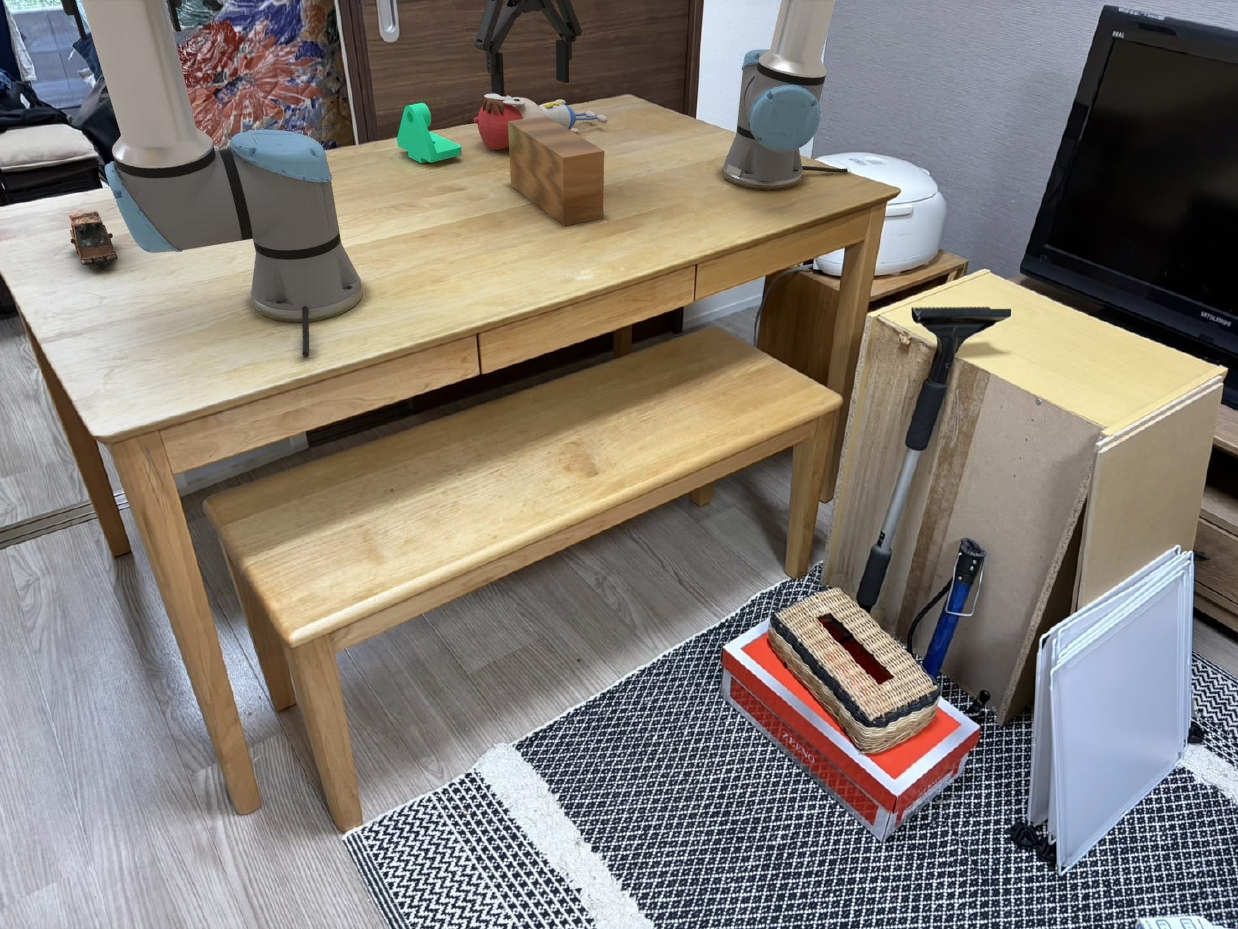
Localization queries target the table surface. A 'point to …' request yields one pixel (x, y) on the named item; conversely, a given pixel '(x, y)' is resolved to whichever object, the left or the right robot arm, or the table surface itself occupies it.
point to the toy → (521, 116)
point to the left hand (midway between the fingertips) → (131, 34)
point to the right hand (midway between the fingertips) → (531, 87)
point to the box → (556, 169)
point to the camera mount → (423, 137)
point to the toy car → (91, 239)
